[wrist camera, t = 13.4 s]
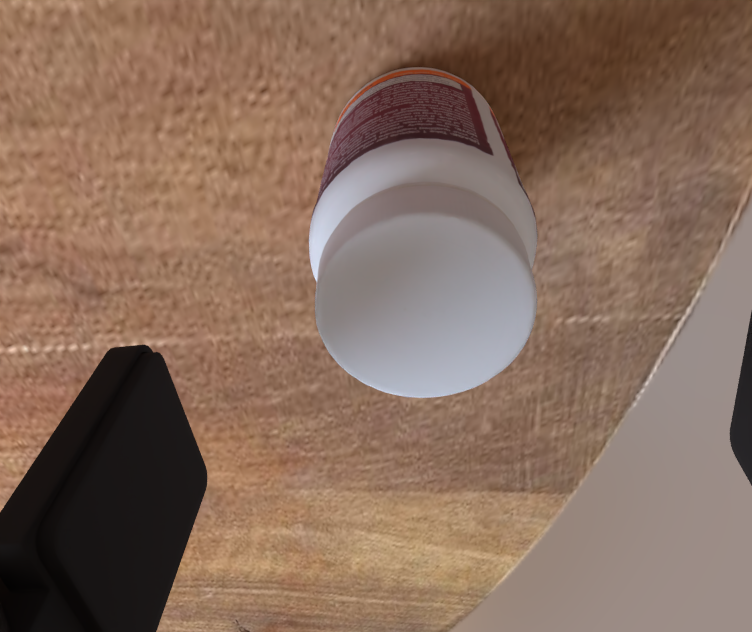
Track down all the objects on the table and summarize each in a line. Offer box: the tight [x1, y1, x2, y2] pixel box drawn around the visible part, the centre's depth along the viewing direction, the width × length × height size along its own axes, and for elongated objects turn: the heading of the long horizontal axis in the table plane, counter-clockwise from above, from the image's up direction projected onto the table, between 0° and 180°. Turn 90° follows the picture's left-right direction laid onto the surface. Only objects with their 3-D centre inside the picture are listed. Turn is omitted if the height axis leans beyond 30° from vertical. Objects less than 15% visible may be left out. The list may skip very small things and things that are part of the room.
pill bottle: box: [309, 67, 537, 398], centre depth 15 cm, size 5×5×8 cm
